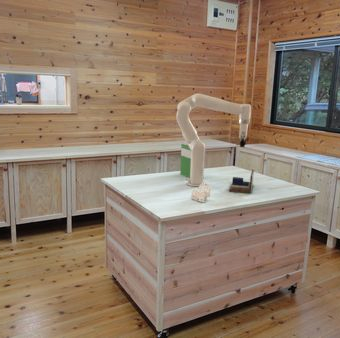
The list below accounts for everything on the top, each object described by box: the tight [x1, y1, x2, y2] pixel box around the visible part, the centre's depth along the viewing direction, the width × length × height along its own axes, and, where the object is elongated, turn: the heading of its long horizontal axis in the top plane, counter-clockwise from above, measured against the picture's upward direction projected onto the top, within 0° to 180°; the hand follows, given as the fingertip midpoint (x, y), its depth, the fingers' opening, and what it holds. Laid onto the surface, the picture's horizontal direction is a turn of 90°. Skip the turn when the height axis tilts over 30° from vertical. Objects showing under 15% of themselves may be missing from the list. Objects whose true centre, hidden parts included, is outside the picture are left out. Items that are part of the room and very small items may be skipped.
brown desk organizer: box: [229, 168, 255, 195], centre depth 264 cm, size 14×24×12 cm, turn 166°
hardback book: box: [179, 143, 192, 178], centre depth 295 cm, size 18×7×24 cm, turn 30°
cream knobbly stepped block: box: [190, 184, 211, 203], centre depth 235 cm, size 12×6×11 cm, turn 40°
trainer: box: [230, 176, 250, 189], centre depth 260 cm, size 12×5×6 cm, turn 76°
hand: (242, 145), depth 270 cm, fingers open, 9 cm apart
